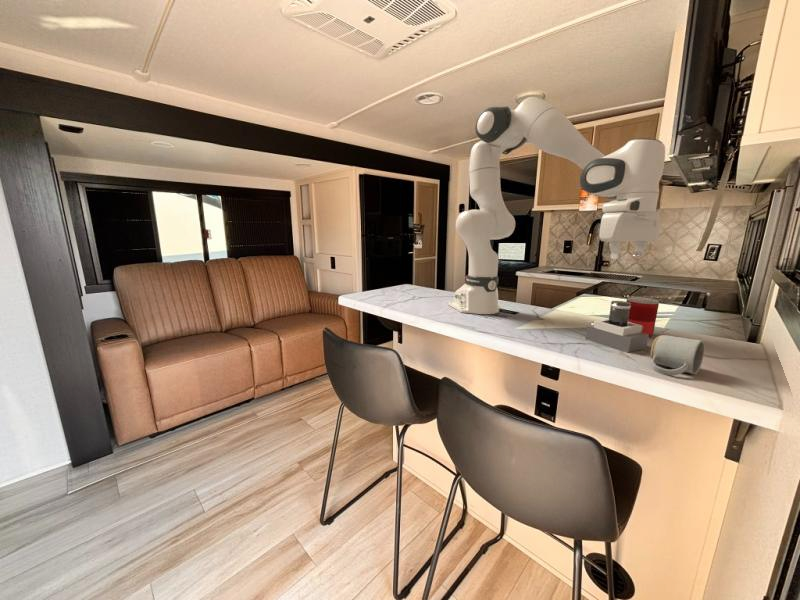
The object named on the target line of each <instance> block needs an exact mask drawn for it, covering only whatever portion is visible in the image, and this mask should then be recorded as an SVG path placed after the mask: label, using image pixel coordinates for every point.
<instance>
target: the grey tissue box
mask: <svg viewBox="0 0 800 600" xmlns="http://www.w3.org/2000/svg"><path fill="white" fill-rule="evenodd" d="M608 321H609V318H604V319H598V320H594V322H591V324H590V325H587V326H586V332H585V333H586V334H585V340H589V341H591V342H595V343H598V344H599V345H604V346H607V347H610V348H613V349H616V350H619V351H622V352H626V353H632V352H637V351H641V350H645V349H647V347H648V346H647V345H648V340H649V337H648V336H649V334H645V333H642V332H641V328H642V325H639V324H634V323H630V322H628V323H627V327H619V326H615V325H612V324H608Z"/></svg>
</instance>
